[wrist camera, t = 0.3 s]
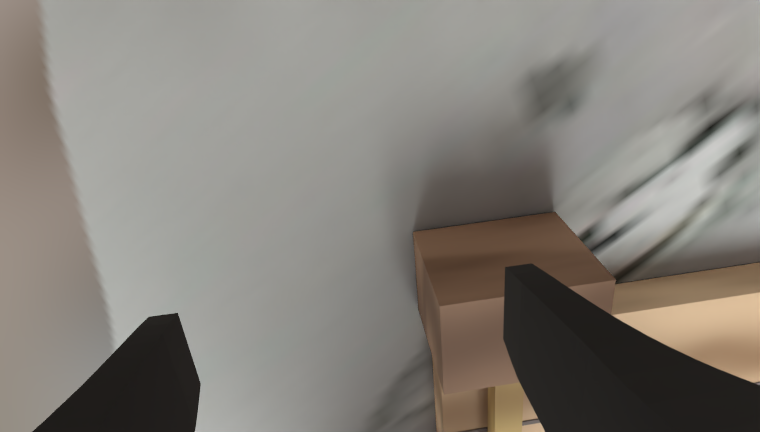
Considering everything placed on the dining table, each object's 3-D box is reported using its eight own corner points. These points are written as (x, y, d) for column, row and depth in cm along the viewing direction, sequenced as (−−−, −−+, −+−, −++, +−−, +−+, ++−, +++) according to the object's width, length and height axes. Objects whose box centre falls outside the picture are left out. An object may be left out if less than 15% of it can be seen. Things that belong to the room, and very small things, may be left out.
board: (816, 371, 29) (850, 400, 28) (436, 434, 28) (445, 469, 26) (865, 246, 26) (908, 270, 24) (429, 312, 24) (439, 342, 22)
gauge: (541, 401, 28) (586, 489, 23) (426, 420, 27) (449, 514, 23) (555, 211, 22) (615, 279, 18) (413, 231, 22) (439, 306, 18)
